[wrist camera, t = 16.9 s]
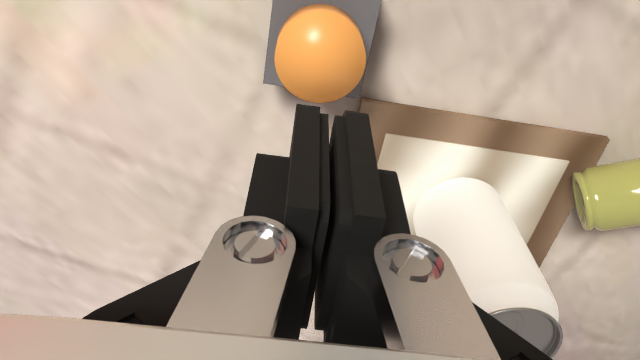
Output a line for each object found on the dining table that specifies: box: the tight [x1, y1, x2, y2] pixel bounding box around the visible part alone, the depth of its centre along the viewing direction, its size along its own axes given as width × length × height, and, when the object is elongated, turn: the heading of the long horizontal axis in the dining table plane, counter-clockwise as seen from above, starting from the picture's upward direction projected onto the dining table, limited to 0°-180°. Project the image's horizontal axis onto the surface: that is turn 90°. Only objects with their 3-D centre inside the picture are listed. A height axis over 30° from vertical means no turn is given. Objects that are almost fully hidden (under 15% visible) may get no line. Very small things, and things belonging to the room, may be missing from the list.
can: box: [413, 177, 563, 358], centre depth 32 cm, size 6×6×12 cm
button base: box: [263, 0, 382, 98], centre depth 29 cm, size 6×6×3 cm
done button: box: [274, 4, 366, 103], centre depth 26 cm, size 5×5×2 cm
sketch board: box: [359, 98, 610, 267], centre depth 37 cm, size 17×15×1 cm
